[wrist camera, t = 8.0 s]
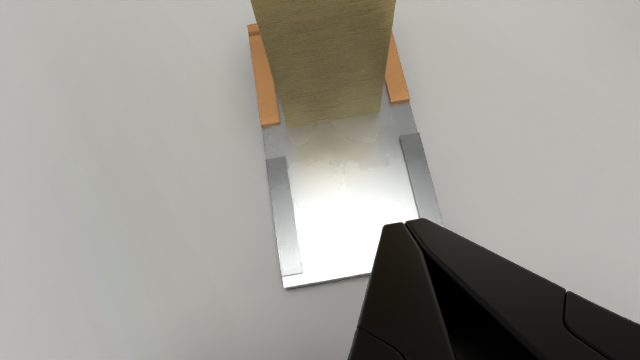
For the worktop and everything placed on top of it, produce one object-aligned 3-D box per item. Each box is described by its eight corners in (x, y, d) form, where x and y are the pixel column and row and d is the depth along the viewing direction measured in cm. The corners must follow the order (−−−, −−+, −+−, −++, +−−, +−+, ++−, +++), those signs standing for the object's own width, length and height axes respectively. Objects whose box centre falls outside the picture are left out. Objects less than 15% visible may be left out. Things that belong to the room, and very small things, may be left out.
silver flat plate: (446, 261, 22) (452, 256, 21) (286, 289, 22) (283, 286, 21) (382, 16, 27) (383, 1, 26) (251, 39, 27) (247, 25, 26)
